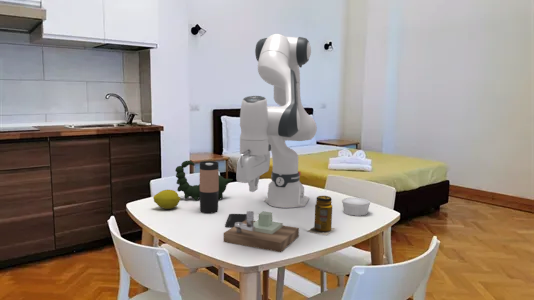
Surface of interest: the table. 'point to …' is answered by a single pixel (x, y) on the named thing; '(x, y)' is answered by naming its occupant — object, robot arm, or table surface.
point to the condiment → (323, 216)
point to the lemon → (167, 199)
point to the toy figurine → (195, 190)
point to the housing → (262, 238)
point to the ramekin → (355, 206)
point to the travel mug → (209, 186)
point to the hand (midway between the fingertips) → (253, 190)
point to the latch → (249, 224)
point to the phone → (235, 219)
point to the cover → (266, 223)
